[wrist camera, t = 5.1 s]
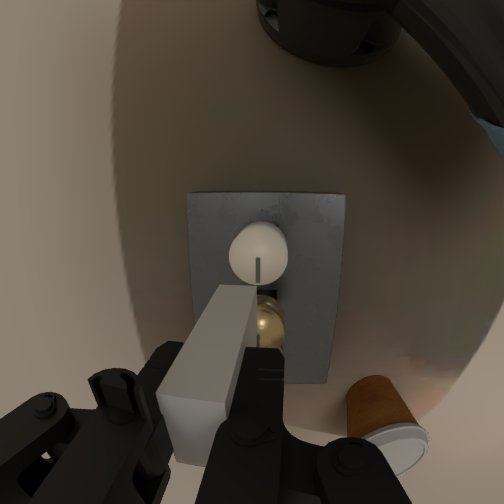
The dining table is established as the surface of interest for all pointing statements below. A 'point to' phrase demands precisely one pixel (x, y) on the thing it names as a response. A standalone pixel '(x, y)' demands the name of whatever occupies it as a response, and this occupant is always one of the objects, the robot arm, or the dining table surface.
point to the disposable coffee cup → (386, 423)
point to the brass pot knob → (270, 322)
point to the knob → (259, 253)
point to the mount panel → (295, 274)
